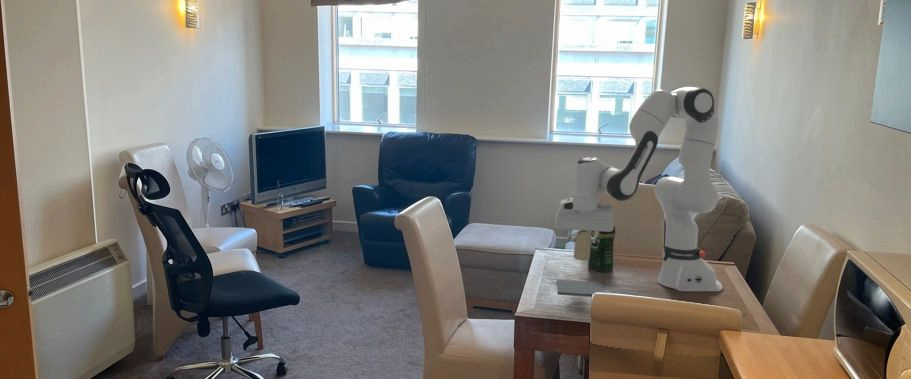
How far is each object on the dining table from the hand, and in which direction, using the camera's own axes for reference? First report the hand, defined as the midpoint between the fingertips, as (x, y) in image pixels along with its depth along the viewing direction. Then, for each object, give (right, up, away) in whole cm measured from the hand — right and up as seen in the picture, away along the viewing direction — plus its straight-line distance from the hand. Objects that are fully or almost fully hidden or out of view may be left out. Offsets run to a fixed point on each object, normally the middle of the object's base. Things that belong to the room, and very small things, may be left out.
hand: (582, 242), depth 245 cm
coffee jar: (+12, -13, +28) cm, 33 cm away
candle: (0, -6, +1) cm, 6 cm away
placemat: (0, -17, +3) cm, 17 cm away
